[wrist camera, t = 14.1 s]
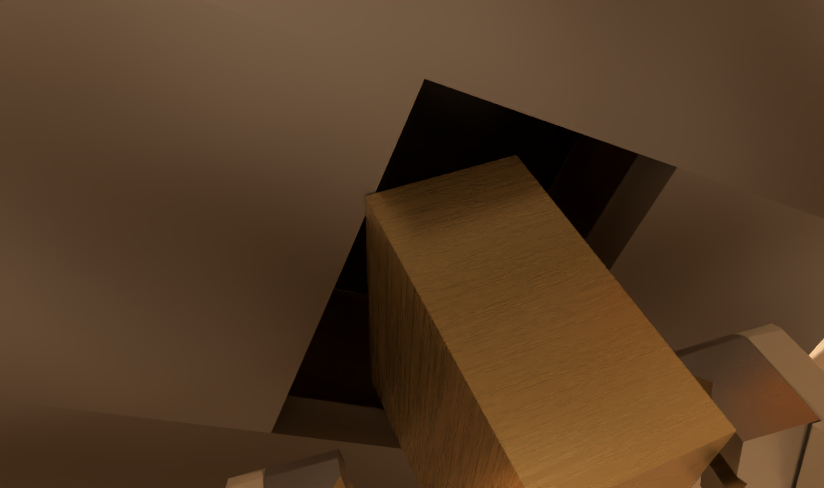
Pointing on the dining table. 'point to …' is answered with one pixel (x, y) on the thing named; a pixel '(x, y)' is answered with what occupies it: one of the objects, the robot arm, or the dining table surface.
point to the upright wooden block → (520, 346)
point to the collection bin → (356, 204)
